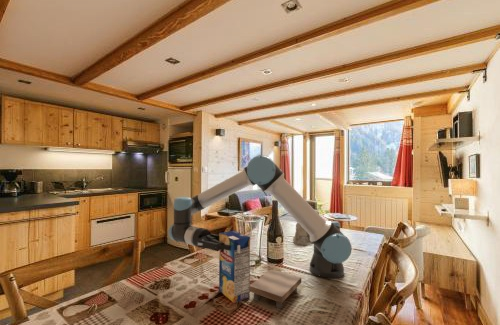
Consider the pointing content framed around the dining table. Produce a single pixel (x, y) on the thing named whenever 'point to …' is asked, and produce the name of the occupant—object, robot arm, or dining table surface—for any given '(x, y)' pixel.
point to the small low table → (275, 286)
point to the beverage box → (235, 266)
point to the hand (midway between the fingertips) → (243, 247)
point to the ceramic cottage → (301, 236)
